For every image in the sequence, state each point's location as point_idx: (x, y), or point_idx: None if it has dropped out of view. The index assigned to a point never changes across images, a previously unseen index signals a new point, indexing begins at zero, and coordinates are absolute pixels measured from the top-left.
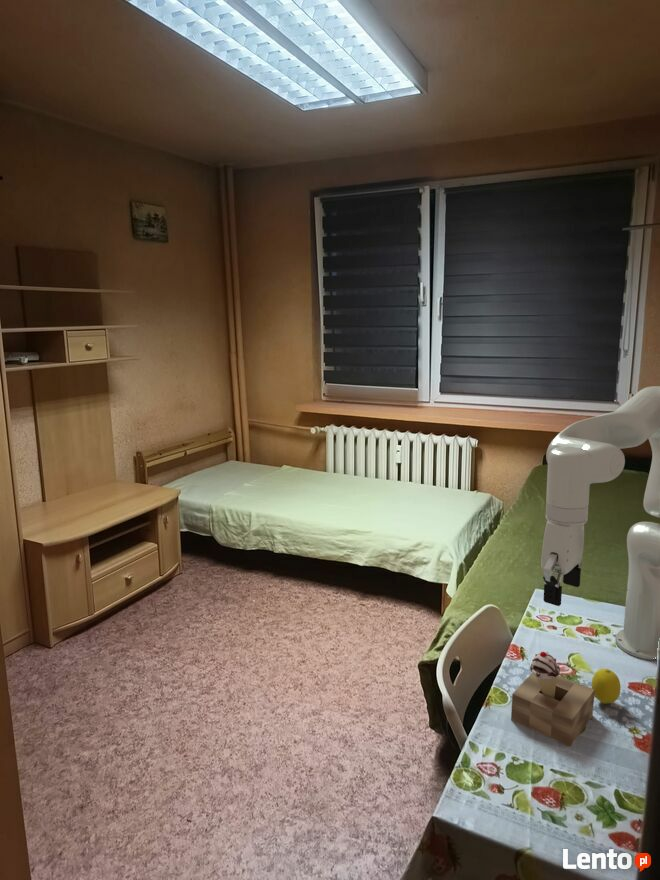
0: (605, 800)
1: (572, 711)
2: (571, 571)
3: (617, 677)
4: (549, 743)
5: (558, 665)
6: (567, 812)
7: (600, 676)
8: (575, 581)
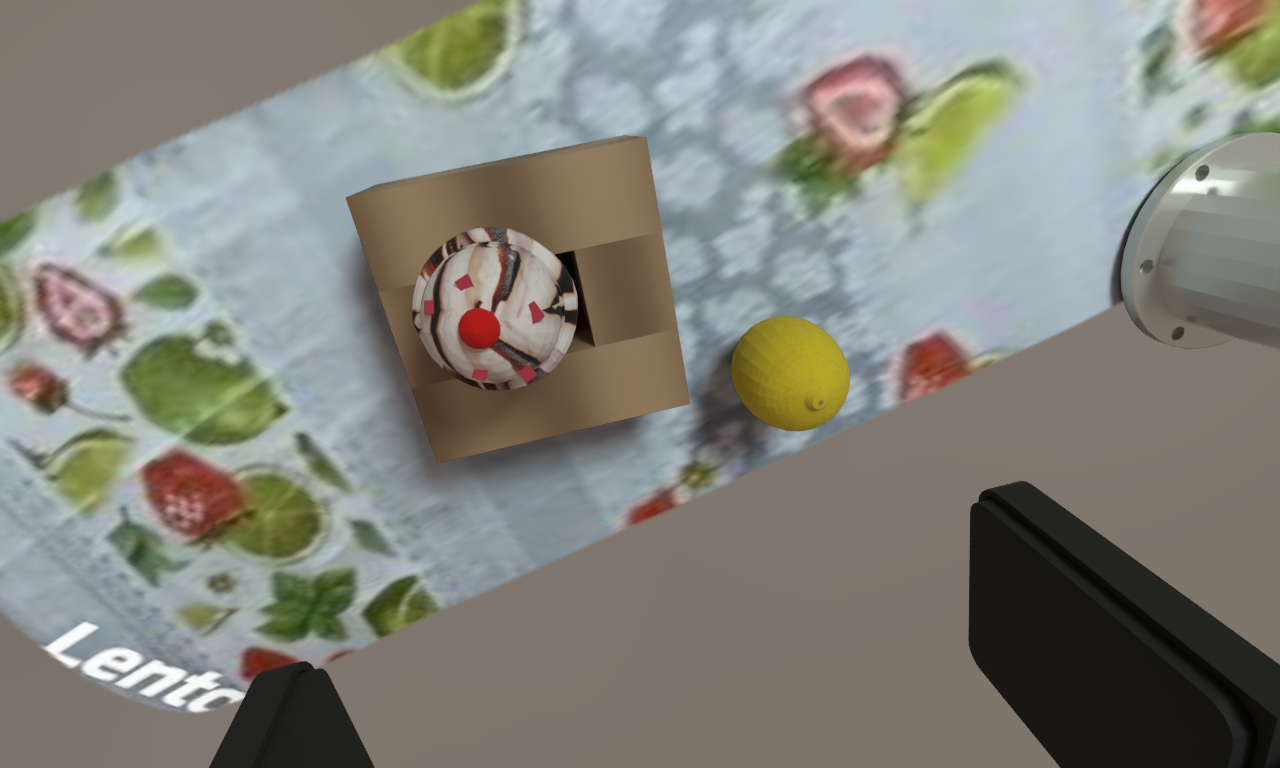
0: (348, 585)
1: (484, 434)
2: (1145, 765)
3: (822, 424)
4: None
5: (555, 363)
6: (202, 560)
7: (775, 386)
8: (1016, 687)
